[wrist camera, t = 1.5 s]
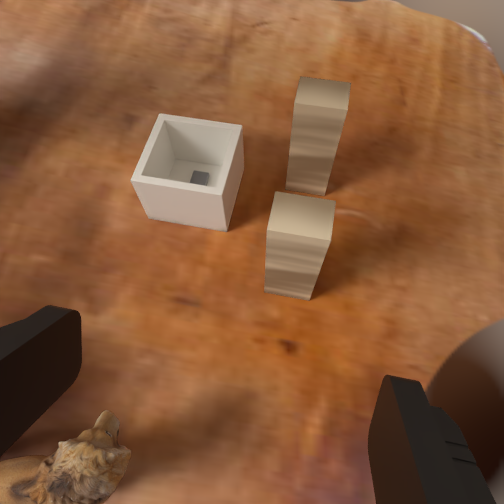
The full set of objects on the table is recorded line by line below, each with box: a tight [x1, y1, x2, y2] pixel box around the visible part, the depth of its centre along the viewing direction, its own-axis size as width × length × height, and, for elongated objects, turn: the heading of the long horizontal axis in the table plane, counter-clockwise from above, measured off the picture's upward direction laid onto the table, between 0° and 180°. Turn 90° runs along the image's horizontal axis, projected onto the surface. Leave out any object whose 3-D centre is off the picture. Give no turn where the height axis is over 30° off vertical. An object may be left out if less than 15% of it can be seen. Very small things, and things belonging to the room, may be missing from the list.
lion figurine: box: [0, 410, 131, 504], centre depth 24 cm, size 15×5×9 cm, turn 101°
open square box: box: [130, 113, 244, 232], centre depth 36 cm, size 8×8×6 cm
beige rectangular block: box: [285, 76, 351, 196], centre depth 34 cm, size 3×4×11 cm
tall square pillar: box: [264, 191, 336, 301], centre depth 29 cm, size 3×4×11 cm
